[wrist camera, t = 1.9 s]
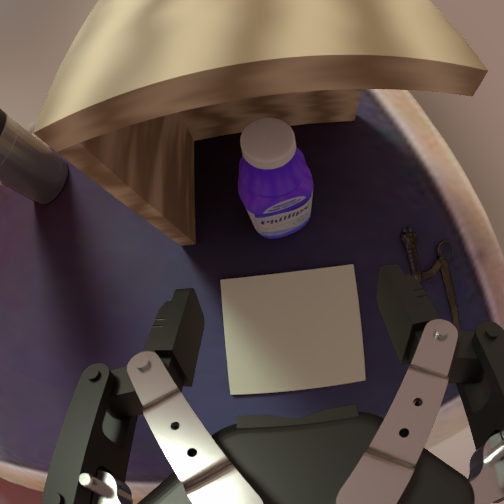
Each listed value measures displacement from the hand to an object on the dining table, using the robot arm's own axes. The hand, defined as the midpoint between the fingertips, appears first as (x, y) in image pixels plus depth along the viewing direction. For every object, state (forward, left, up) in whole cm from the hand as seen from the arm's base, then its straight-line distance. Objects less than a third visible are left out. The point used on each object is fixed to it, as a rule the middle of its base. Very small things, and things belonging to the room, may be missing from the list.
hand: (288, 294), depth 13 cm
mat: (0, -2, -23) cm, 23 cm away
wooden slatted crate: (0, +19, -23) cm, 29 cm away
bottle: (0, +12, -23) cm, 26 cm away
